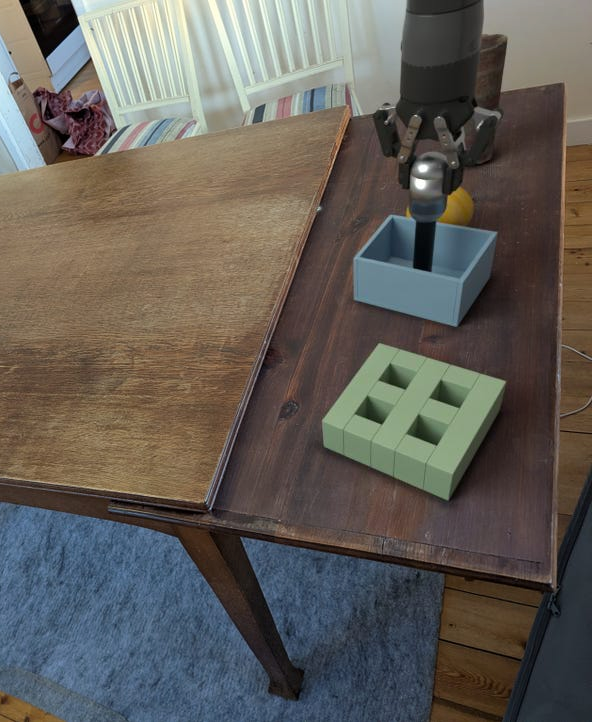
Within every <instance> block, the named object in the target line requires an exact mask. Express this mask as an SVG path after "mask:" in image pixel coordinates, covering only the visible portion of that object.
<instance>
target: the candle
mask: <svg viewBox="0 0 592 722" xmlns="http://www.w3.org/2000/svg"><path fill="white" fill-rule="evenodd" d="M507 49H508V36H507V35H505V34H504V33H503V34H502V33H494V34H488V33H482V39H481V47H480V55H479V63H478V71H477V79H476V87H475V98H476V100H477V103H478V107H481V108H484V109H487V110H490V111H493V110H494V109H495V108H500V100H501V90H502V85H503V77H504V69H505V64H506V56H507ZM474 126H475V121H474V119H472V118H470V119H469V120H468V121H467V122H466V123H465V124H464V125H463V128H464V132H465V139H464V142H465V146H466V150H469V149H471V147H472V145H473V143H474V140H475V138H476V136H477V134H478V132H479V131H476V130H475V127H474ZM496 131H497V129H496V130H495V132H494V134H493V136H492V138H491V140H490V142H489V144H488V146H487V148H486V150H485V152H484V153H483V155H482V156H481V157H480V159H479V160H478V161H477V162H476V164H479V165H480V164H483V163H484V162H488V161H491V160H492V158H493V153H494V146H495V139H496ZM443 154H444V155H445V153H444V152H443ZM445 156H446V155H445Z"/></svg>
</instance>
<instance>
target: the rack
mask: <svg viewBox="0 0 592 722" xmlns="http://www.w3.org/2000/svg"><path fill="white" fill-rule="evenodd" d="M506 385H507V381H506V380H503V379H500V378H498V377H494V376H490V375H486V374H484V373H480V372H477V371H473V370H471V369H467V368H464V367H460V366H457V365H453V364H450V363H447V362H444V361H440V360H437V359H434V358H431V357H427V356H424V355H420V354H417V353H413V352H411V351H407V350H404V349H400V348H397V347H394V346H391V345H387V344H384V343H380V342H379V343H378V344H377V345H376V346H375V348H374V349H373V351H372V352H371V353H370V355H369V356H368V357H367V358H366V360H365V362H364V363H363V364H362V366H361V367H360V368H359V370H358V371H357V372H356V374H355V375H354V377H353V378H352V379H351V381H350V382H349V383H348V385H347V386H346V387H345V388H344V390H343V391H342V393H341V394H340V396H339V397H338V398H337V400H336V401H335V403H334V404H333V405H332V406H331V408H330V410H328V412H327V413H326V414H325V416H324V417H323V419H322V420H321V424H322V427H321V428H322V440H323V441H322V442H323V447H324V448H327V449H328V450H330V451H333V452H334V453H338V454H340V455H342V456H345V457H347V458H349V459H350V460H353V461H356V462H358V463H360V464H363V465H365V466H367V467H370V468H372V469H375V470H376V471H379V472H381V473H383V474H386V475H388V476H390V477H393V478H395V479H397V480H399V481H401V482H404V483H406V484H407V485H408V484H409V485H411V486H413V487H416V488H418V489H420V490H423V491H425V492H426V493H429V494H431V495H434V496H436V497H439V498H441V499H443V500H446V501H450V500H451V497H452V496H453V494H454V492H455V490H456V489H457V487H458V485H459V483H460V481H461V480H462V478H463V476H464V474H465V472H466V470H467V469H468V467H469V466H470V464H471V462H472V460H473V459H474V456H475V454H476V453H477V451H478V449H479V447H480V446H481V444H482V442H483V441H484V439H485V437H486V435H487V434H488V432H489V430H490V428H491V427H492V425H493V423H494V421H495V419H496V418H497V416H498V414H499V413H500V410H501V407H502V402H503V398H504V394H505V389H506Z"/></svg>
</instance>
